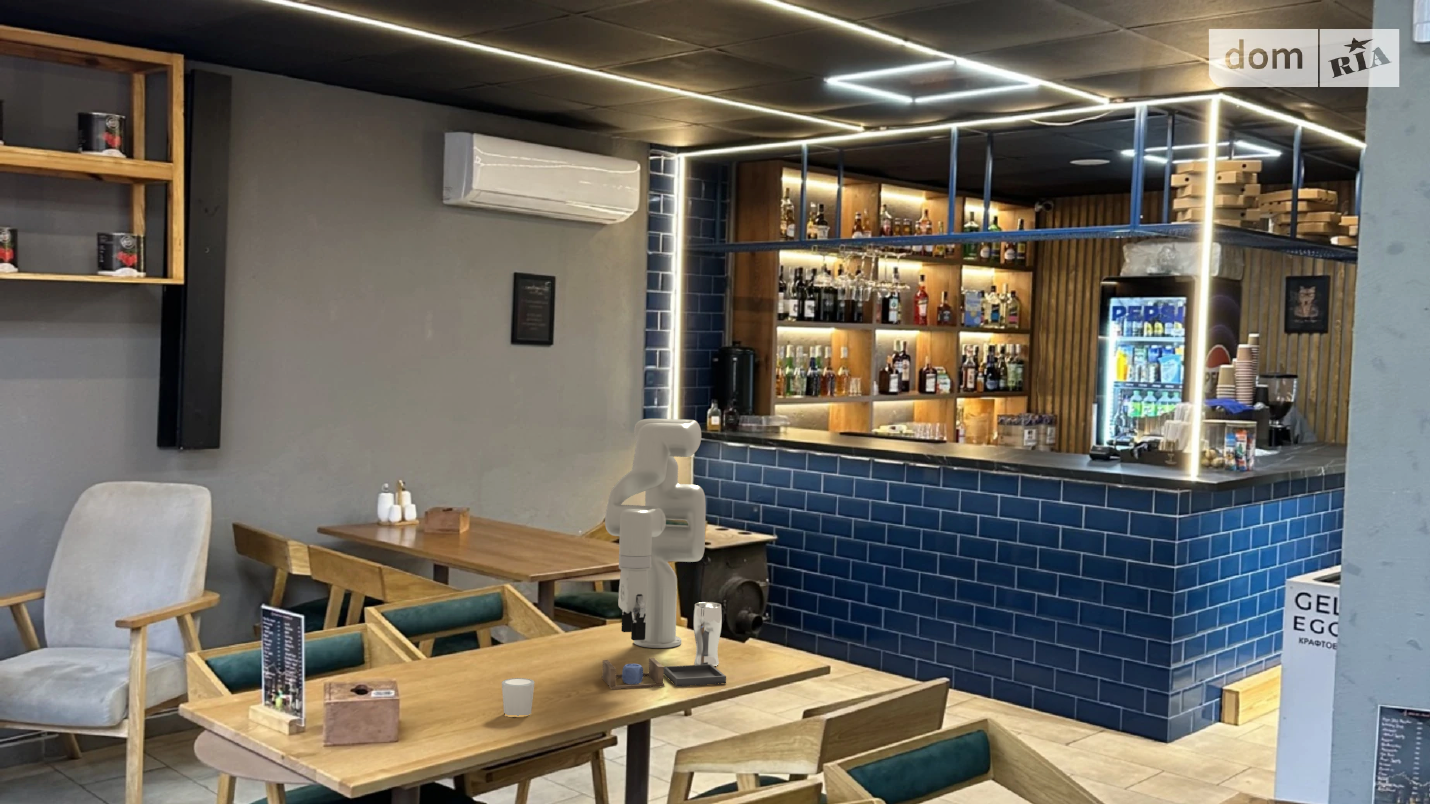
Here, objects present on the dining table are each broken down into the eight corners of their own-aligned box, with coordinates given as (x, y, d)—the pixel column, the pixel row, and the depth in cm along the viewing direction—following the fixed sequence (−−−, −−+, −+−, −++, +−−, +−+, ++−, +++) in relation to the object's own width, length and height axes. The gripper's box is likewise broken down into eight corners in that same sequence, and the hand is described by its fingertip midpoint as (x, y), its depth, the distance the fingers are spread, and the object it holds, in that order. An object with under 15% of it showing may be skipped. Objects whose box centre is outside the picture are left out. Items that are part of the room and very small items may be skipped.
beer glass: (721, 662, 325) (723, 602, 324) (719, 668, 318) (720, 607, 317) (694, 660, 325) (695, 601, 325) (690, 667, 319) (692, 606, 318)
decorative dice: (637, 685, 300) (638, 668, 300) (621, 683, 301) (621, 666, 301) (643, 681, 304) (643, 664, 304) (627, 679, 305) (627, 662, 305)
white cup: (519, 720, 269) (520, 687, 269) (494, 715, 273) (494, 682, 272) (540, 713, 275) (541, 680, 275) (515, 708, 279) (516, 675, 278)
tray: (663, 674, 311) (663, 666, 311) (710, 671, 315) (711, 664, 315) (676, 686, 300) (676, 678, 300) (726, 683, 303) (726, 676, 303)
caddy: (601, 677, 306) (601, 659, 306) (652, 675, 310) (652, 656, 310) (611, 689, 296) (612, 670, 296) (664, 686, 299) (664, 667, 299)
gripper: (611, 557, 309) (609, 629, 309) (627, 567, 292) (626, 643, 292) (641, 557, 311) (639, 628, 311) (660, 567, 294) (658, 642, 295)
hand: (633, 635), depth 302 cm, fingers open, 9 cm apart
